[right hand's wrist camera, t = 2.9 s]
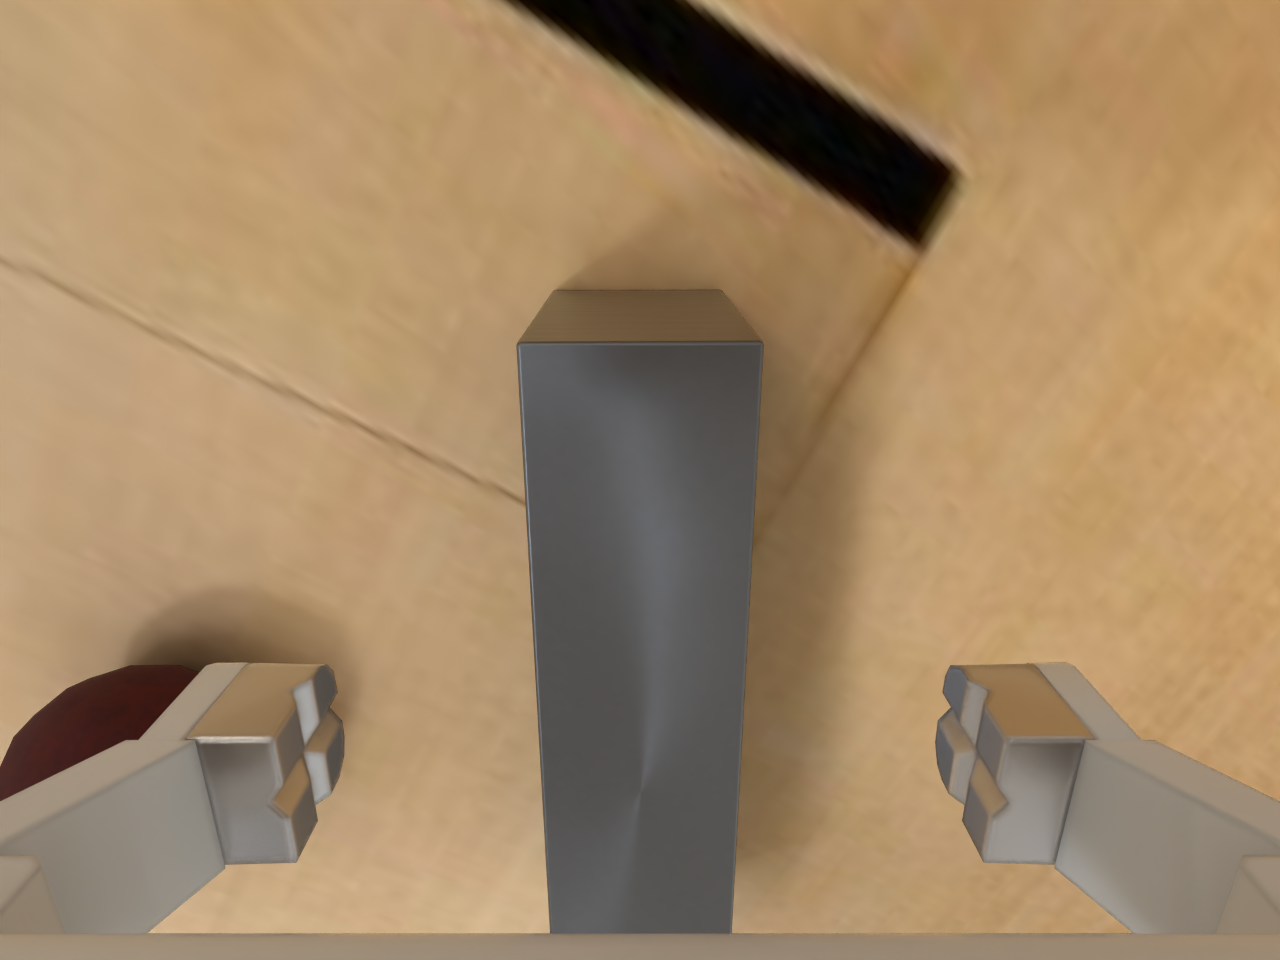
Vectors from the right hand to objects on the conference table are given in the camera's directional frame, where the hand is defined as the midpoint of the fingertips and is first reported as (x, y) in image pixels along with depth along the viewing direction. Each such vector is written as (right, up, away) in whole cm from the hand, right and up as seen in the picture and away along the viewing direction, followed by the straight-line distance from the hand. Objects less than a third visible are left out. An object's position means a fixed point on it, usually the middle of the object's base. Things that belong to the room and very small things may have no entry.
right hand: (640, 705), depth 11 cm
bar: (0, -2, +18) cm, 18 cm away
